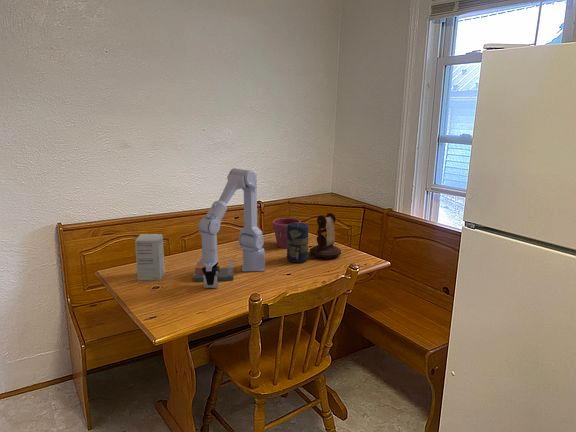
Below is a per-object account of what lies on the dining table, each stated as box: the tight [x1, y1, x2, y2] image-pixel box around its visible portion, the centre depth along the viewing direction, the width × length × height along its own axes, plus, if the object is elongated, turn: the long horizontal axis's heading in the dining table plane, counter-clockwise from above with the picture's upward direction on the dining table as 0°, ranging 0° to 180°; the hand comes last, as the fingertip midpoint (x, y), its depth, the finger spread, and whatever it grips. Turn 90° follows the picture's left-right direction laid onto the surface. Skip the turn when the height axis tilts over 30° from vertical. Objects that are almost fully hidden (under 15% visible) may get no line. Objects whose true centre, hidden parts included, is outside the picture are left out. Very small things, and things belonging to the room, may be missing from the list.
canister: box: [286, 222, 309, 263], centre depth 202 cm, size 10×10×18 cm
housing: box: [203, 271, 219, 289], centre depth 173 cm, size 5×4×6 cm
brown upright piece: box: [309, 212, 342, 261], centre depth 209 cm, size 15×15×20 cm
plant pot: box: [271, 217, 302, 249], centre depth 224 cm, size 14×14×13 cm
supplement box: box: [134, 233, 166, 281], centre depth 182 cm, size 10×9×17 cm
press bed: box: [192, 259, 235, 282], centre depth 184 cm, size 16×10×6 cm, turn 95°
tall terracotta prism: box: [194, 261, 205, 274], centre depth 183 cm, size 4×7×4 cm, turn 5°
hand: (210, 282), depth 174 cm, fingers closed on housing, 4 cm apart
